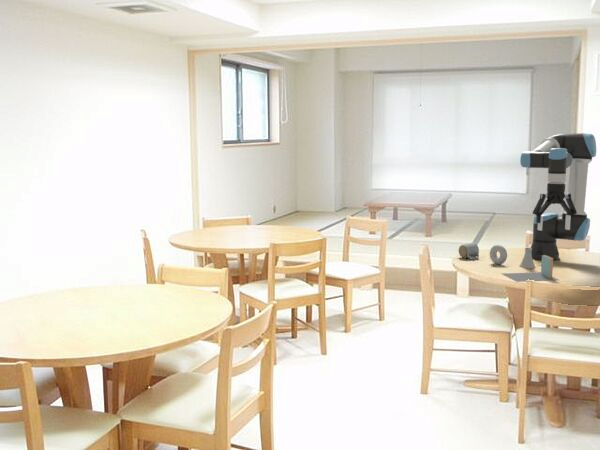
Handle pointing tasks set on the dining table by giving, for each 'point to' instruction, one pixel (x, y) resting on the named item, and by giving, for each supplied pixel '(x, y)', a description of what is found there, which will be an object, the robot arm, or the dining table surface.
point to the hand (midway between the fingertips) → (553, 229)
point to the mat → (528, 277)
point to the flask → (527, 259)
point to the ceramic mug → (469, 251)
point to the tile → (547, 266)
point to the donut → (494, 254)
